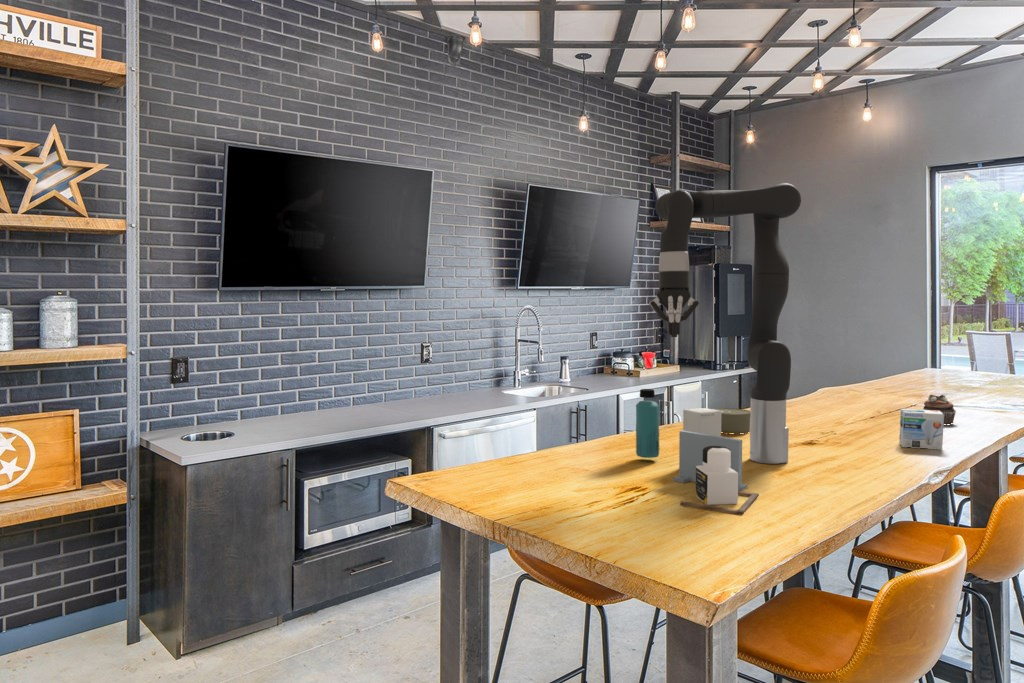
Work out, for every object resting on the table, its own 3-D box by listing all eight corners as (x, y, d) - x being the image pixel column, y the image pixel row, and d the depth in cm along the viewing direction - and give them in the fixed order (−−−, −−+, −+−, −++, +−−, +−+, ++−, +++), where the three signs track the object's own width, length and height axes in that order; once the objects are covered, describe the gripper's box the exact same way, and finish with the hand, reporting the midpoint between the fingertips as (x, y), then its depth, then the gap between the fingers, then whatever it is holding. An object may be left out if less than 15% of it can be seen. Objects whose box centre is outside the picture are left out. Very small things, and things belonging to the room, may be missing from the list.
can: (755, 435, 223) (756, 414, 223) (718, 435, 224) (719, 414, 223) (743, 427, 235) (744, 408, 235) (708, 428, 235) (709, 408, 235)
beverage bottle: (659, 463, 186) (660, 390, 184) (634, 462, 187) (635, 390, 186) (659, 458, 192) (659, 387, 191) (635, 457, 193) (635, 387, 192)
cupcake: (930, 425, 236) (931, 396, 235) (918, 420, 245) (919, 392, 245) (960, 426, 234) (961, 397, 234) (947, 421, 244) (948, 393, 243)
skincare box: (698, 472, 176) (698, 412, 175) (680, 467, 182) (681, 409, 181) (722, 468, 180) (723, 410, 179) (704, 463, 186) (705, 406, 185)
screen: (672, 480, 169) (673, 432, 168) (688, 475, 174) (688, 428, 173) (732, 493, 157) (733, 442, 156) (747, 487, 162) (748, 437, 161)
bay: (680, 505, 149) (680, 502, 149) (700, 488, 162) (700, 485, 162) (742, 515, 142) (742, 512, 142) (758, 496, 155) (758, 493, 155)
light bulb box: (901, 447, 203) (902, 411, 202) (898, 443, 209) (899, 408, 208) (943, 450, 199) (945, 413, 198) (939, 445, 205) (940, 410, 204)
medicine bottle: (695, 496, 156) (695, 444, 155) (725, 495, 156) (726, 443, 156) (706, 505, 149) (707, 451, 148) (738, 504, 149) (738, 450, 149)
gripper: (650, 269, 173) (650, 338, 174) (703, 269, 172) (702, 337, 173) (645, 270, 180) (645, 336, 181) (696, 270, 180) (695, 336, 181)
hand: (673, 336), depth 177 cm, fingers closed
